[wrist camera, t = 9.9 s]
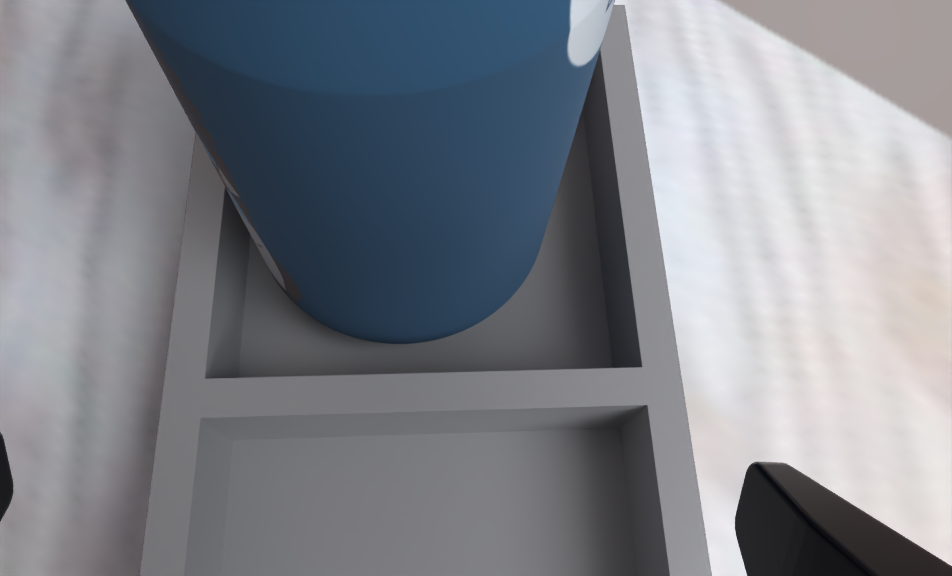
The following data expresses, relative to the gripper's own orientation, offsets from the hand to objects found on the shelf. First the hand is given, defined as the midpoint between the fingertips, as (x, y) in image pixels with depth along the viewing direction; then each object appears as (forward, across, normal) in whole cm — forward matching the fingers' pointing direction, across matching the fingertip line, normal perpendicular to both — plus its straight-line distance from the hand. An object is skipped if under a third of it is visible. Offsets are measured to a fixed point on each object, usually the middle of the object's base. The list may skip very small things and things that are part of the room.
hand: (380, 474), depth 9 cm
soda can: (+11, +1, 0) cm, 11 cm away
